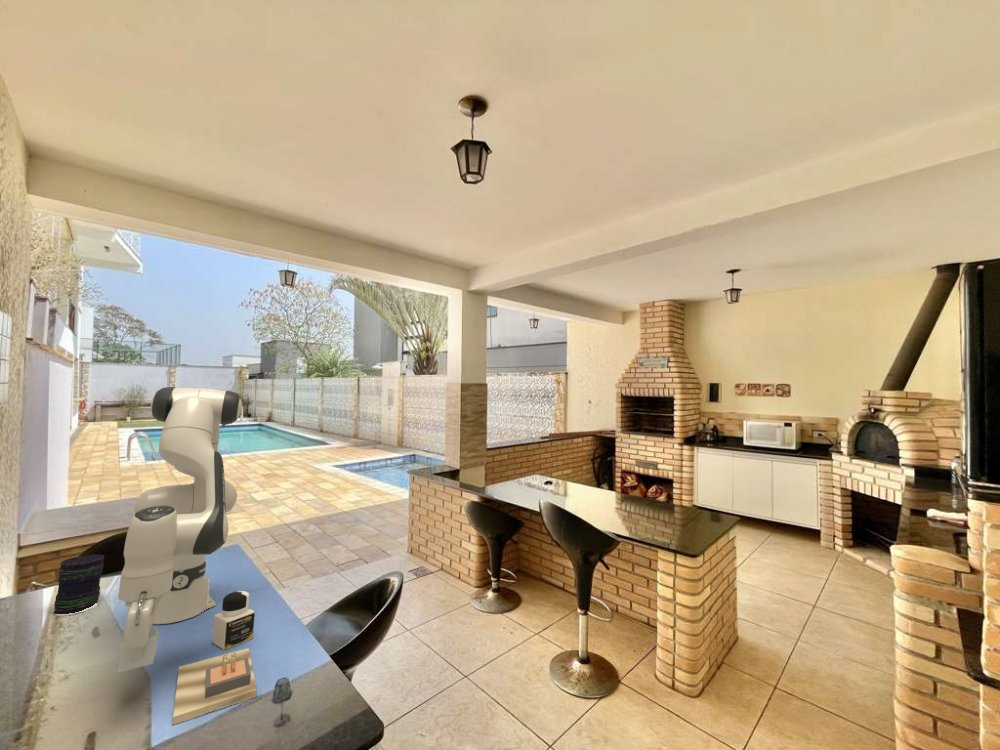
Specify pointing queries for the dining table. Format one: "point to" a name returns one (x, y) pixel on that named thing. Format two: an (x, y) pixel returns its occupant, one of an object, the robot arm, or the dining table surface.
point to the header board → (196, 689)
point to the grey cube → (147, 655)
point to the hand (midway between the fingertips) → (138, 651)
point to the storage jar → (78, 583)
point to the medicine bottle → (233, 621)
